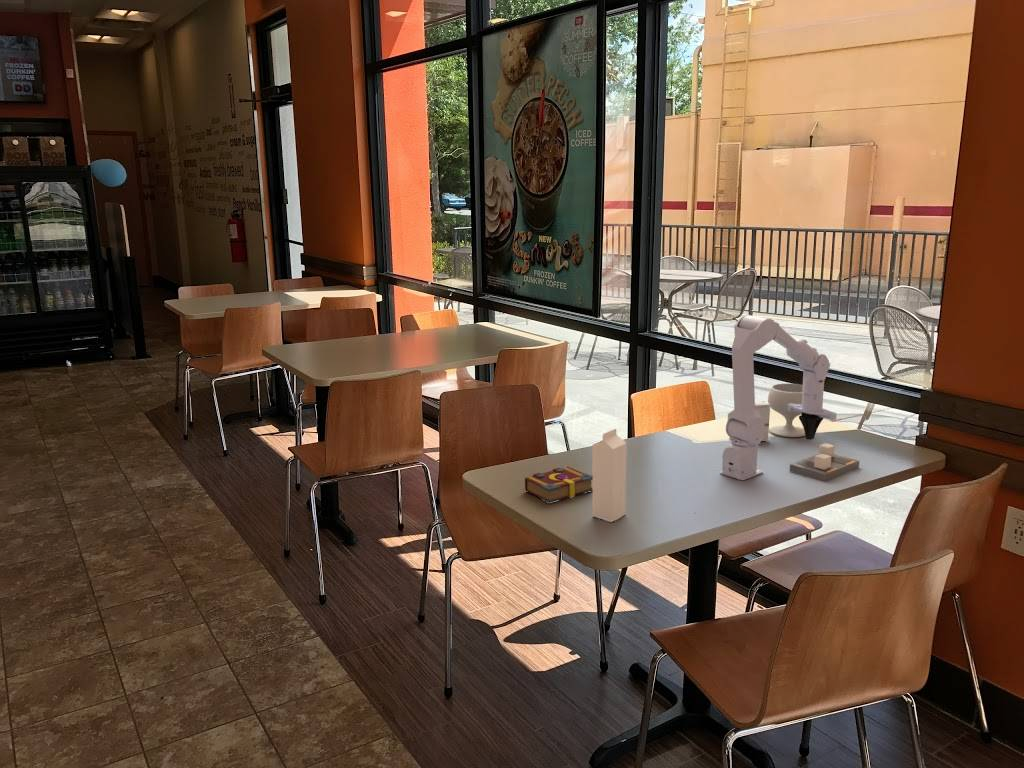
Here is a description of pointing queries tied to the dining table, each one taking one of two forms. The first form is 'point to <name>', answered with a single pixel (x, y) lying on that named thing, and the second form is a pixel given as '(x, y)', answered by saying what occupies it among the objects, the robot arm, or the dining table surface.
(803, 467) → the switch board
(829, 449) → the cream cube
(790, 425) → the chalice
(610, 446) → the milk
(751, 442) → the robot arm
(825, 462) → the cream white cube
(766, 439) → the skincare box
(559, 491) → the decorative book
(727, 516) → the dining table surface
